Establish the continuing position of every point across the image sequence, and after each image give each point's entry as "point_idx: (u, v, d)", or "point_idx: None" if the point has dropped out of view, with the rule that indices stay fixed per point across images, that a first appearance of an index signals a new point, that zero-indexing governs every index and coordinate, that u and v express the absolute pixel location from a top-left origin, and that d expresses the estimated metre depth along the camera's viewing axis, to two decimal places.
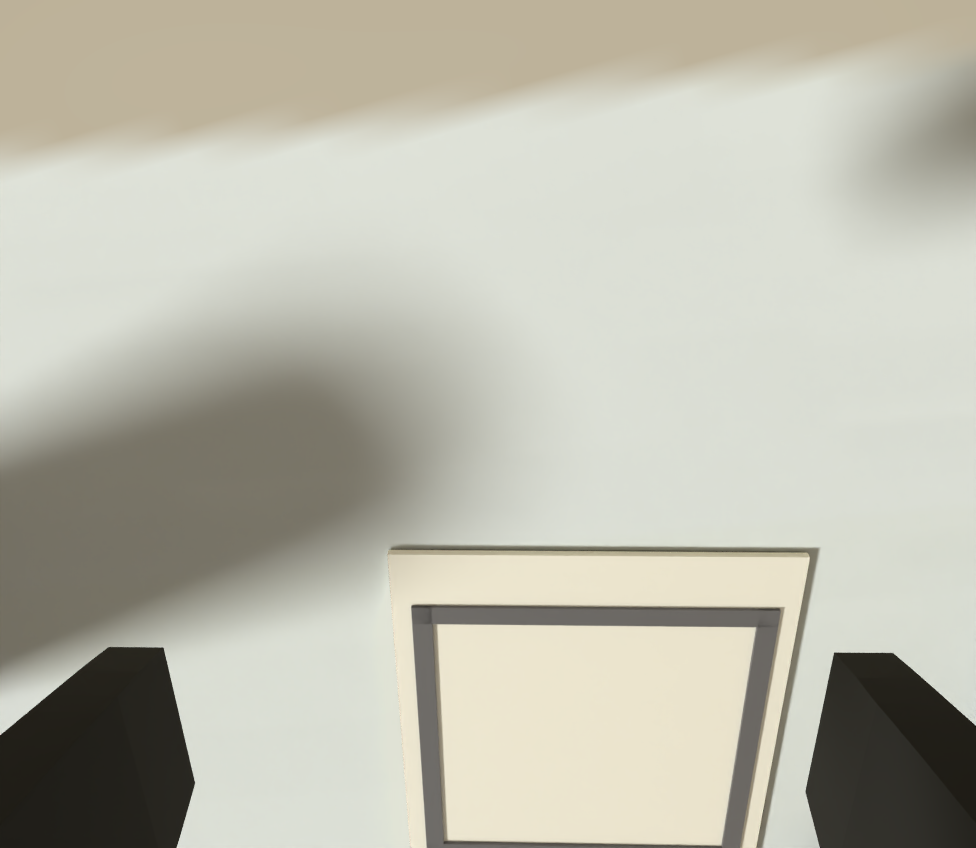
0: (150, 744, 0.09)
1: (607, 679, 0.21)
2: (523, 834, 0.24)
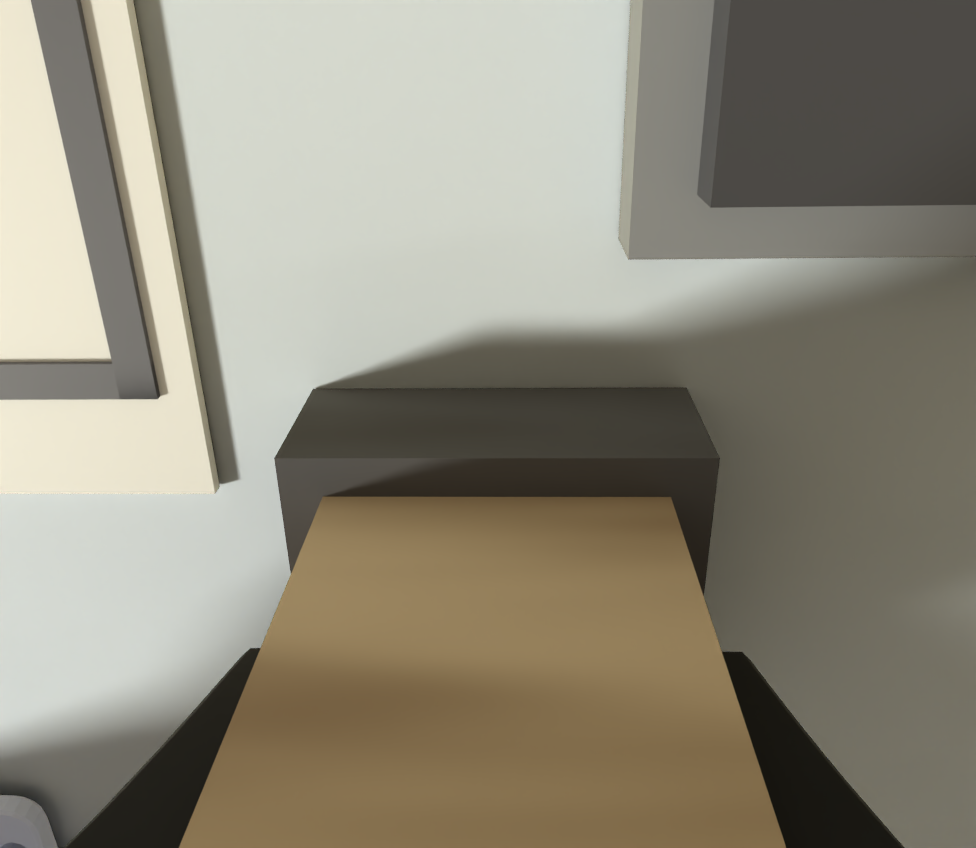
0: None
1: None
2: None
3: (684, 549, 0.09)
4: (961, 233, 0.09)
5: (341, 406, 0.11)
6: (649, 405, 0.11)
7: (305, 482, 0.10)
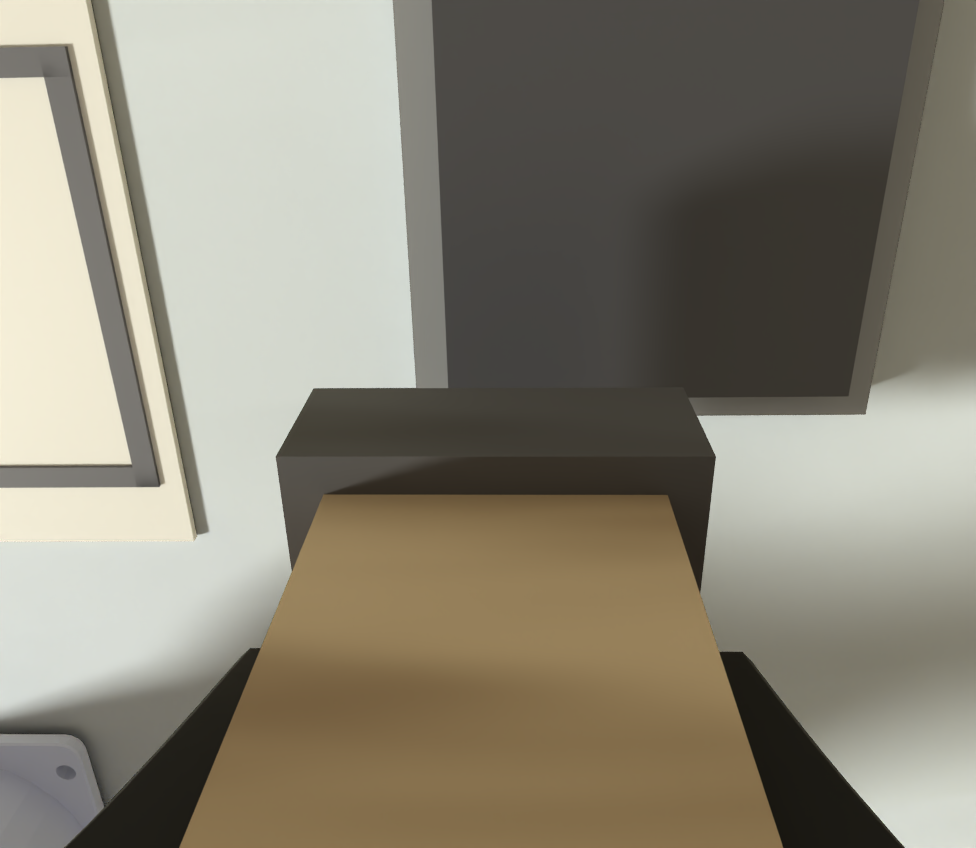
0: None
1: None
2: None
3: (680, 546, 0.09)
4: None
5: (342, 405, 0.11)
6: (646, 404, 0.11)
7: (307, 479, 0.10)
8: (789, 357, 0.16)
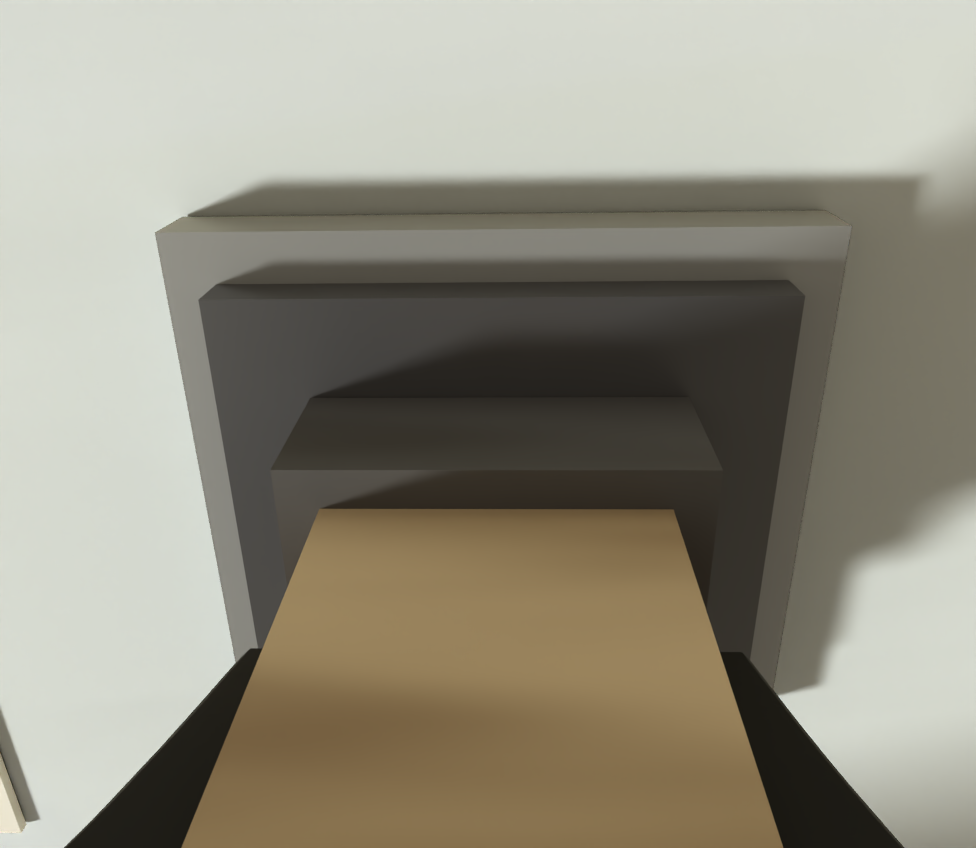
0: None
1: None
2: None
3: (687, 564, 0.08)
4: None
5: (339, 416, 0.11)
6: (651, 415, 0.10)
7: (301, 493, 0.09)
8: None
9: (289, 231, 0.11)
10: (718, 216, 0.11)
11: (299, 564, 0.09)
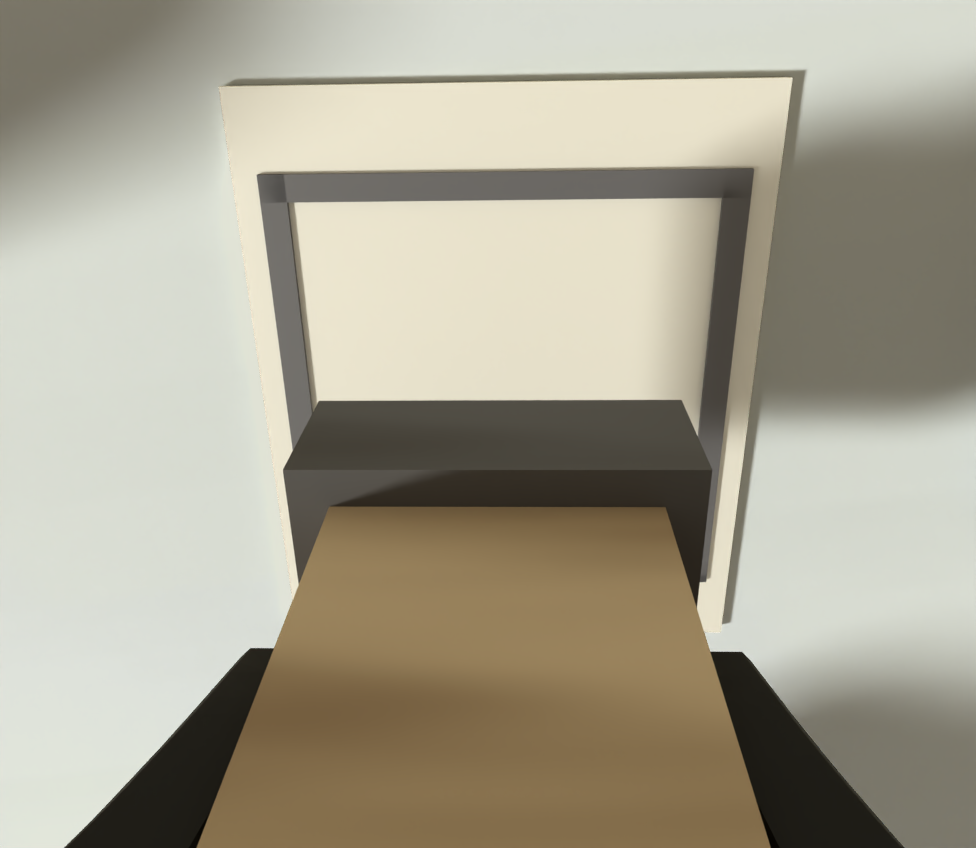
0: None
1: (526, 293, 0.16)
2: None
3: (677, 558, 0.09)
4: None
5: (347, 417, 0.11)
6: (644, 417, 0.11)
7: (312, 493, 0.10)
8: None
9: None
10: None
11: (311, 558, 0.09)
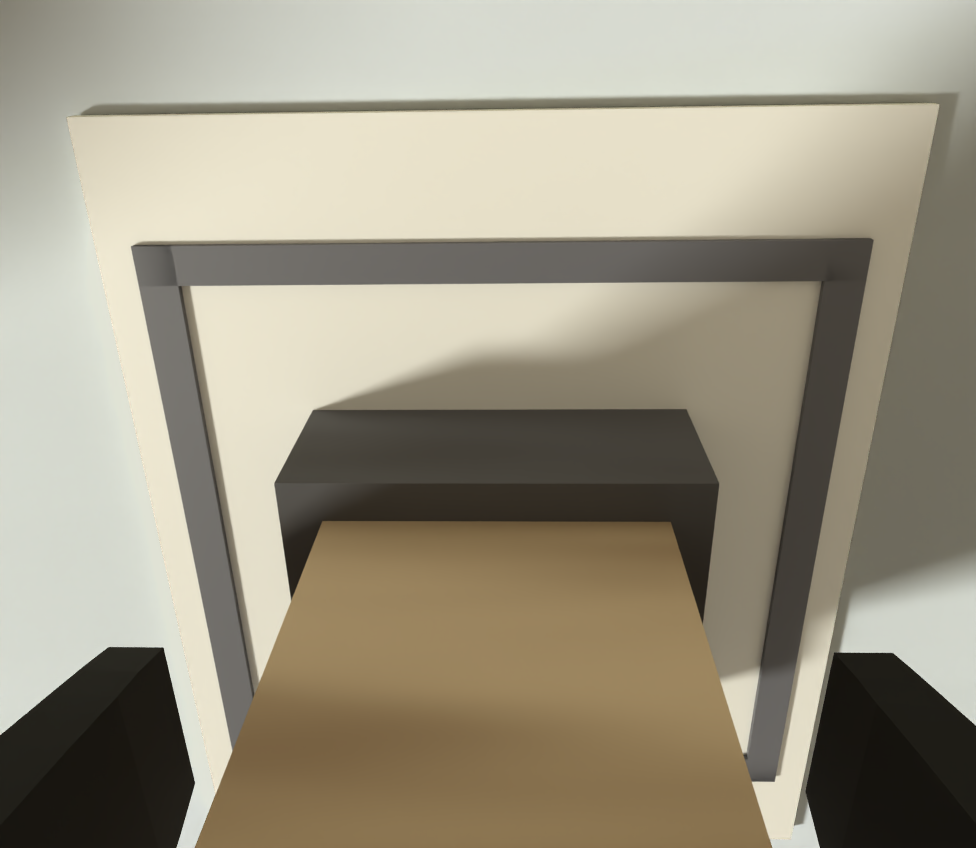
0: (151, 744, 0.09)
1: None
2: None
3: (684, 577, 0.09)
4: None
5: (341, 428, 0.11)
6: (649, 427, 0.11)
7: (305, 505, 0.10)
8: None
9: None
10: None
11: (303, 577, 0.09)
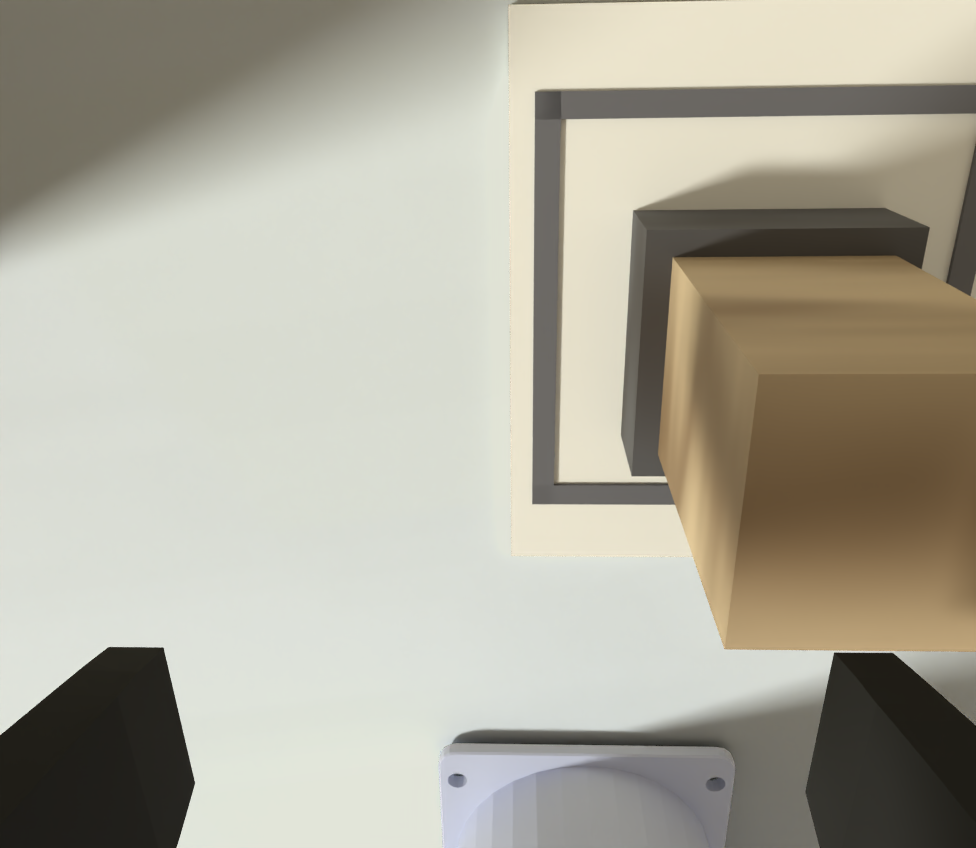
0: (150, 744, 0.09)
1: None
2: None
3: (919, 270, 0.14)
4: None
5: (662, 215, 0.16)
6: (866, 213, 0.16)
7: (663, 246, 0.15)
8: None
9: None
10: None
11: (685, 271, 0.14)
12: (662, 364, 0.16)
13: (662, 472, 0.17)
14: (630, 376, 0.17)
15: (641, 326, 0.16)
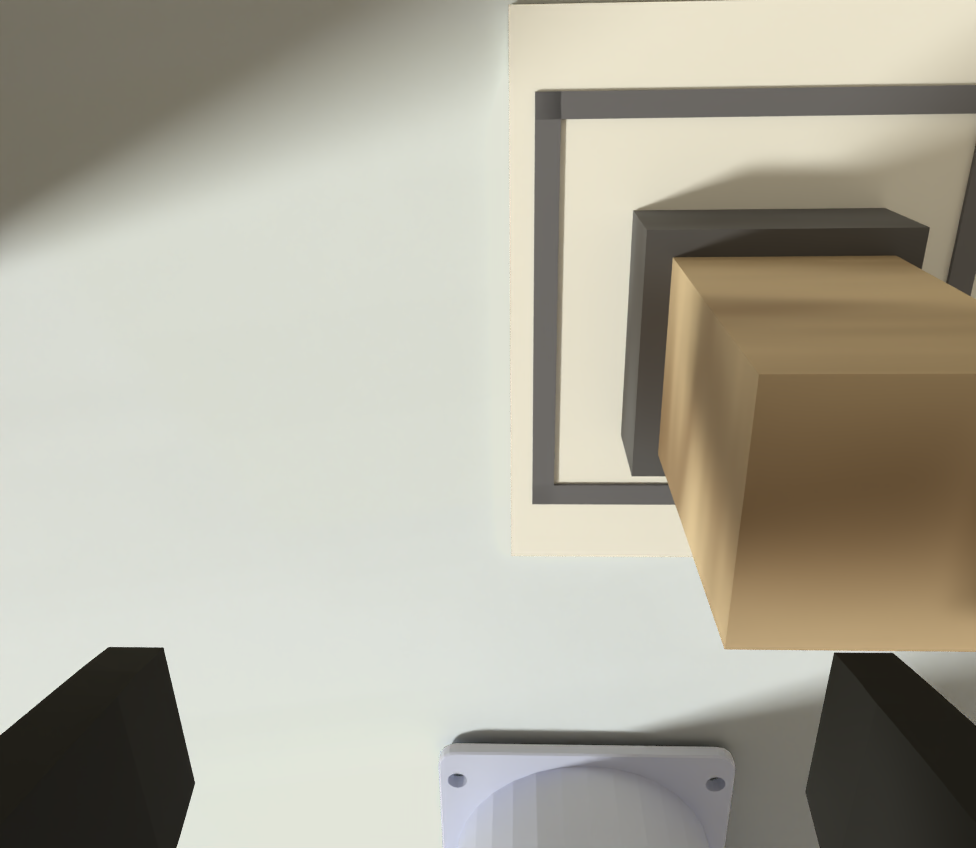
0: (150, 744, 0.09)
1: None
2: None
3: (919, 270, 0.14)
4: None
5: (662, 215, 0.16)
6: (866, 213, 0.16)
7: (663, 246, 0.15)
8: None
9: None
10: None
11: (685, 271, 0.14)
12: (662, 364, 0.16)
13: (662, 472, 0.17)
14: (630, 376, 0.17)
15: (641, 326, 0.16)
